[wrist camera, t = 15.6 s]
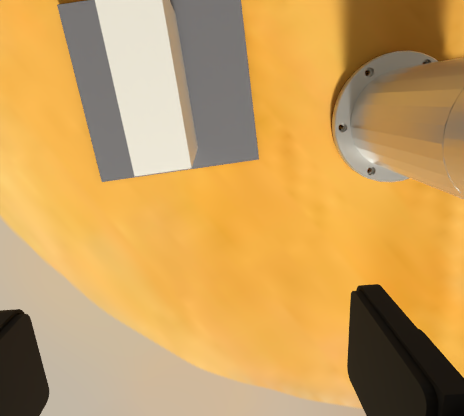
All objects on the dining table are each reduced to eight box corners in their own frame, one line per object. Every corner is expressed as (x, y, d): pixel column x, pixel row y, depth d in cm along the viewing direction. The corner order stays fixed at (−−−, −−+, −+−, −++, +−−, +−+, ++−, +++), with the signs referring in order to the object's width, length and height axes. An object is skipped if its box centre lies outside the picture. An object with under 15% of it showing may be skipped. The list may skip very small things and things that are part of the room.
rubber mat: (237, -19, 31) (238, -21, 31) (258, 158, 36) (258, 159, 36) (60, 6, 31) (57, 4, 31) (103, 180, 36) (101, 181, 35)
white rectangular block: (175, 14, 31) (157, -30, 21) (197, 148, 35) (191, 168, 24) (131, 20, 31) (90, -20, 21) (158, 153, 35) (134, 176, 24)
